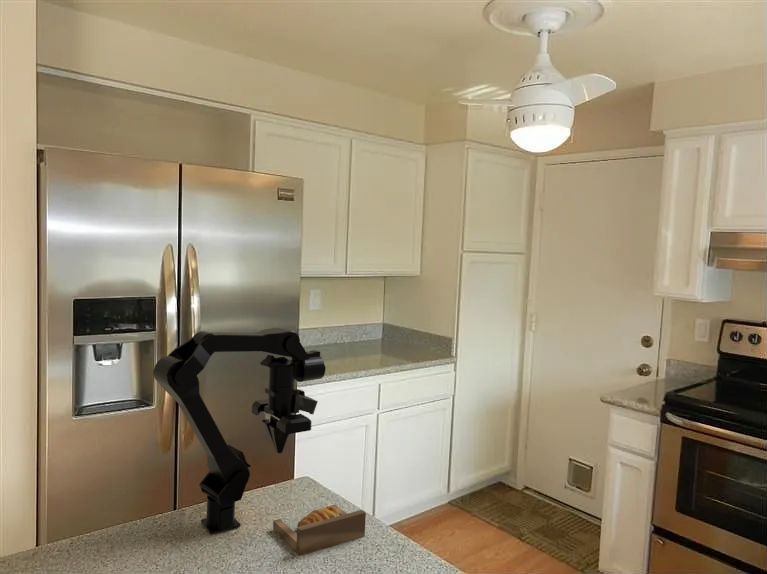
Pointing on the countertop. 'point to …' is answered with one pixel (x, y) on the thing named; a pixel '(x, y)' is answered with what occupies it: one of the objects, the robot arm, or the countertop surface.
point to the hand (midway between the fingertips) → (279, 452)
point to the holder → (323, 531)
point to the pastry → (319, 515)
